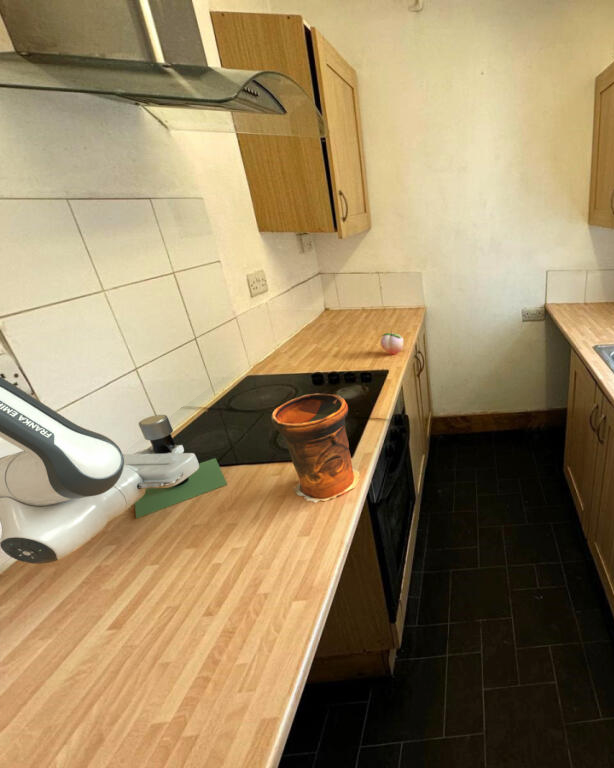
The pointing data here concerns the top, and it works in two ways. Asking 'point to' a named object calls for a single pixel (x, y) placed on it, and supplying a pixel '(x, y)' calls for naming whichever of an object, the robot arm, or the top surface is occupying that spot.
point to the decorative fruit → (392, 342)
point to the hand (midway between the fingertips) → (168, 447)
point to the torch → (159, 435)
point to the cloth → (182, 489)
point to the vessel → (317, 445)
